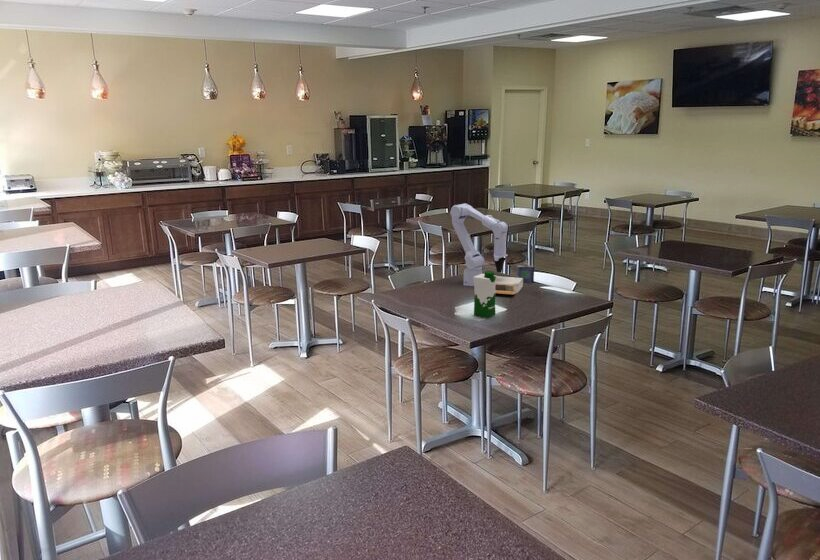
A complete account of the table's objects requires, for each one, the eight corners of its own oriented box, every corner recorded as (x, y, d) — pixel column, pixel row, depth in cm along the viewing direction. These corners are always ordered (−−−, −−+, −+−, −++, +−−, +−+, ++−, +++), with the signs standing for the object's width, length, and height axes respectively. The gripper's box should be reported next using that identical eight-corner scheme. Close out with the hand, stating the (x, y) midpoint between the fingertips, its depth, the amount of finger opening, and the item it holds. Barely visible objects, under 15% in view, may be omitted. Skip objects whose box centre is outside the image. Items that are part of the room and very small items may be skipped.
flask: (516, 282, 323) (516, 263, 321) (516, 281, 326) (517, 261, 324) (533, 283, 321) (534, 263, 319) (533, 281, 324) (534, 262, 321)
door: (478, 290, 307) (474, 291, 299) (479, 288, 306) (475, 289, 299) (515, 293, 300) (512, 294, 292) (516, 291, 300) (512, 292, 292)
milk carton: (487, 319, 263) (488, 275, 258) (470, 315, 269) (470, 272, 264) (498, 314, 270) (499, 271, 265) (481, 310, 275) (481, 268, 270)
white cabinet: (478, 291, 308) (478, 281, 307) (485, 284, 321) (485, 275, 319) (517, 294, 301) (517, 284, 300) (522, 287, 313) (523, 278, 312)
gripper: (504, 249, 297) (503, 275, 301) (510, 243, 310) (510, 269, 313) (490, 248, 300) (489, 274, 303) (497, 243, 313) (497, 268, 316)
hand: (499, 271), depth 308 cm, fingers closed
